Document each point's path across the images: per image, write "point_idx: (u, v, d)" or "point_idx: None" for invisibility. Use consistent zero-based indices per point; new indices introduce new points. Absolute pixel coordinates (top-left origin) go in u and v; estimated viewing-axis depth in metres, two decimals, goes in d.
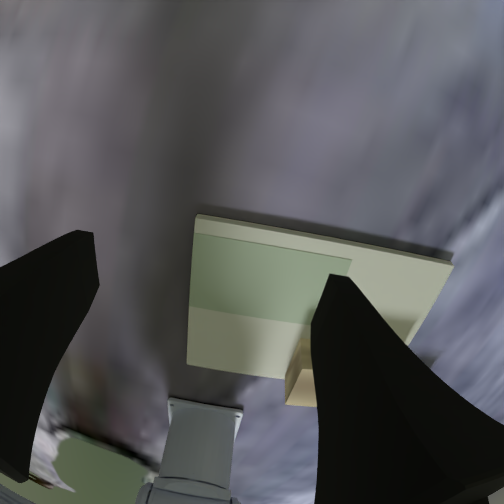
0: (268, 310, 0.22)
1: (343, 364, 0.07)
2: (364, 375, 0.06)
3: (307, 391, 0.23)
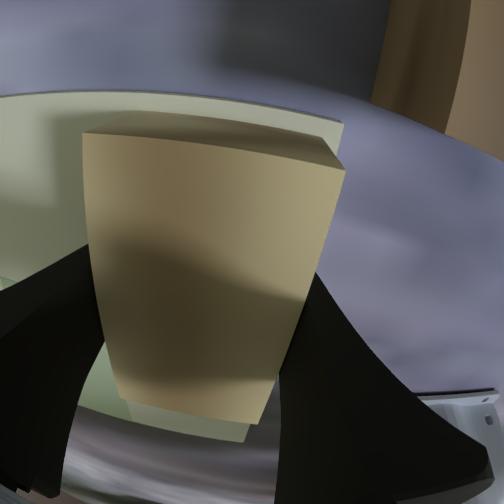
0: (102, 367, 0.14)
1: (300, 360, 0.07)
2: (315, 372, 0.06)
3: (196, 398, 0.09)
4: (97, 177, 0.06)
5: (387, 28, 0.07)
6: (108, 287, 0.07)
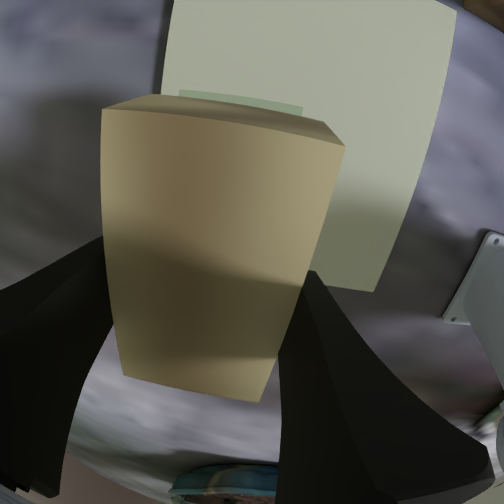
0: None
1: (301, 360, 0.07)
2: (316, 372, 0.06)
3: (199, 374, 0.10)
4: (114, 150, 0.06)
5: None
6: (118, 258, 0.08)
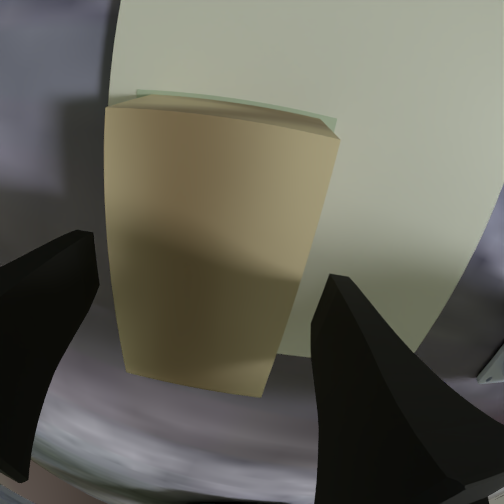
0: None
1: (343, 364, 0.07)
2: (364, 375, 0.06)
3: (201, 369, 0.10)
4: (117, 147, 0.06)
5: None
6: (121, 253, 0.08)
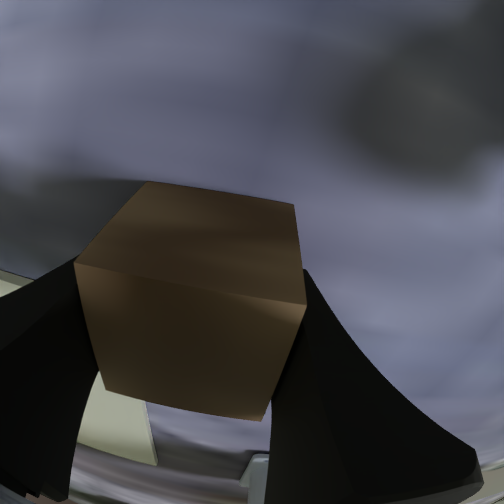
0: None
1: (290, 358, 0.07)
2: (302, 370, 0.06)
3: None
4: None
5: None
6: None
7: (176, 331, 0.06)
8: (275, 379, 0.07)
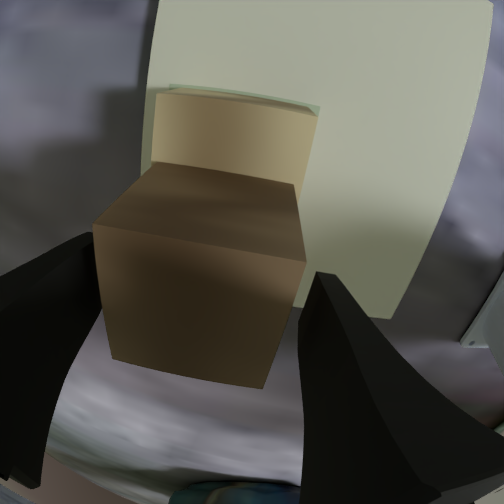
0: None
1: (327, 362, 0.07)
2: (345, 374, 0.06)
3: None
4: (164, 121, 0.09)
5: None
6: None
7: (186, 290, 0.07)
8: (277, 340, 0.08)
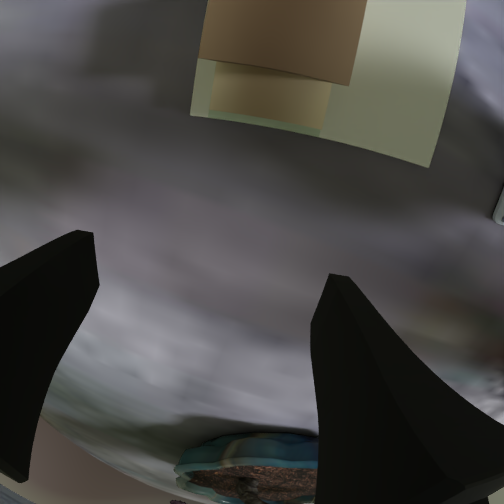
0: None
1: (343, 364, 0.07)
2: (364, 375, 0.06)
3: (277, 93, 0.13)
4: None
5: None
6: None
7: None
8: (360, 21, 0.07)
